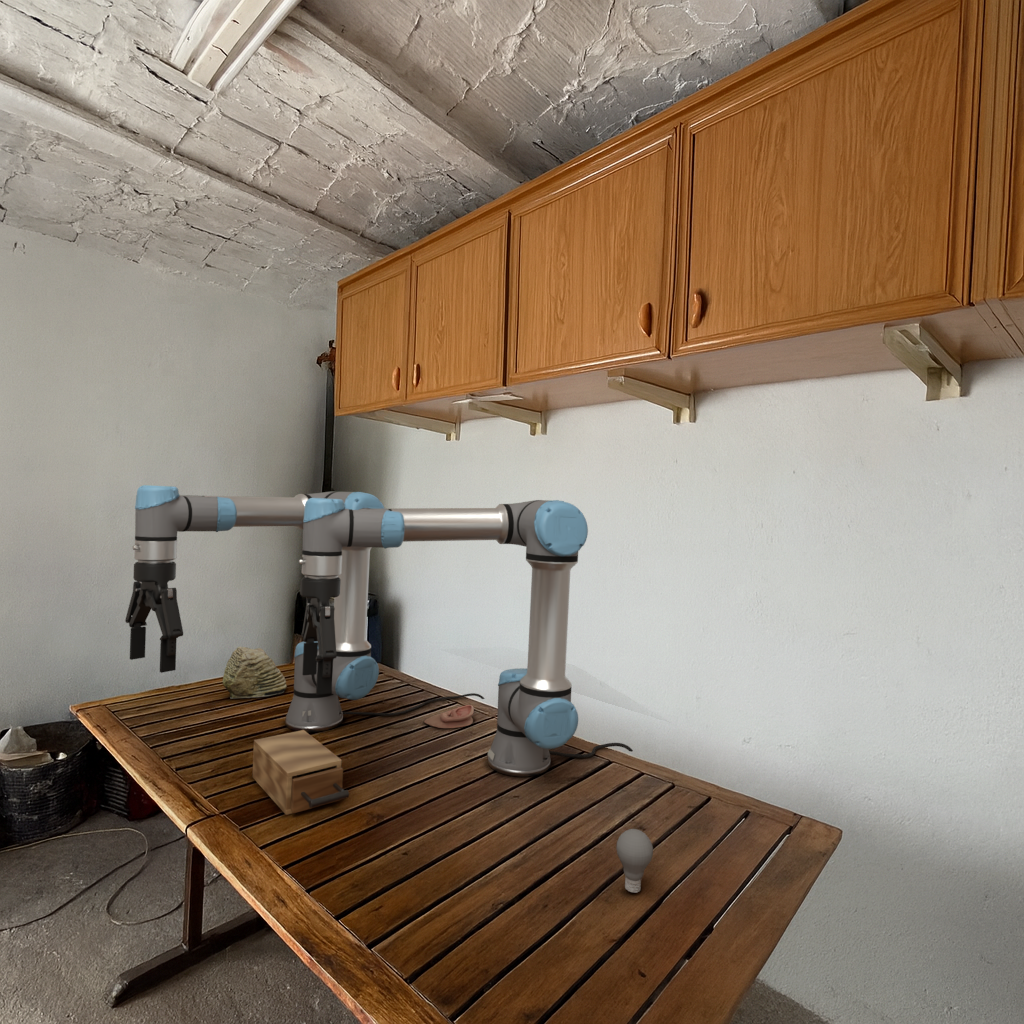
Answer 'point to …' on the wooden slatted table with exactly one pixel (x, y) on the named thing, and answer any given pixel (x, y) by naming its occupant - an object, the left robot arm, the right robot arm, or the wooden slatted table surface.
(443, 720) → the anatomical model
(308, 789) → the drawer
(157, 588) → the left robot arm
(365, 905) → the wooden slatted table surface
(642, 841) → the light bulb
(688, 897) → the wooden slatted table surface
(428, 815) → the wooden slatted table surface
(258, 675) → the fossil
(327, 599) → the right robot arm
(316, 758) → the cabinet
